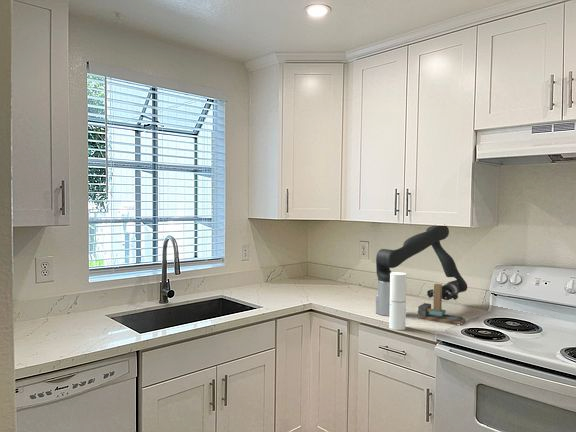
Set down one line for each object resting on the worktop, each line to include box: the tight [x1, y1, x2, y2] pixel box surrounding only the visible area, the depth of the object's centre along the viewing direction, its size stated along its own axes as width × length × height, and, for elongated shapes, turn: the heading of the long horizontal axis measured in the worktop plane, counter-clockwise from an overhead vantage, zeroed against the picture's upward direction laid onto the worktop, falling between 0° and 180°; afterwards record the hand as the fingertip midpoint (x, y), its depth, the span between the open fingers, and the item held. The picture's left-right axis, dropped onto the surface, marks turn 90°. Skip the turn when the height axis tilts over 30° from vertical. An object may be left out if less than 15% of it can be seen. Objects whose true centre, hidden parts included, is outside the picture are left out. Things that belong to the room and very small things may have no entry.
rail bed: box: [417, 302, 466, 326], centre depth 209 cm, size 20×9×6 cm, turn 53°
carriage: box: [429, 283, 447, 316], centre depth 210 cm, size 6×7×14 cm
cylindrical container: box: [388, 271, 407, 331], centre depth 195 cm, size 7×7×25 cm
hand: (438, 296), depth 210 cm, fingers open, 8 cm apart
